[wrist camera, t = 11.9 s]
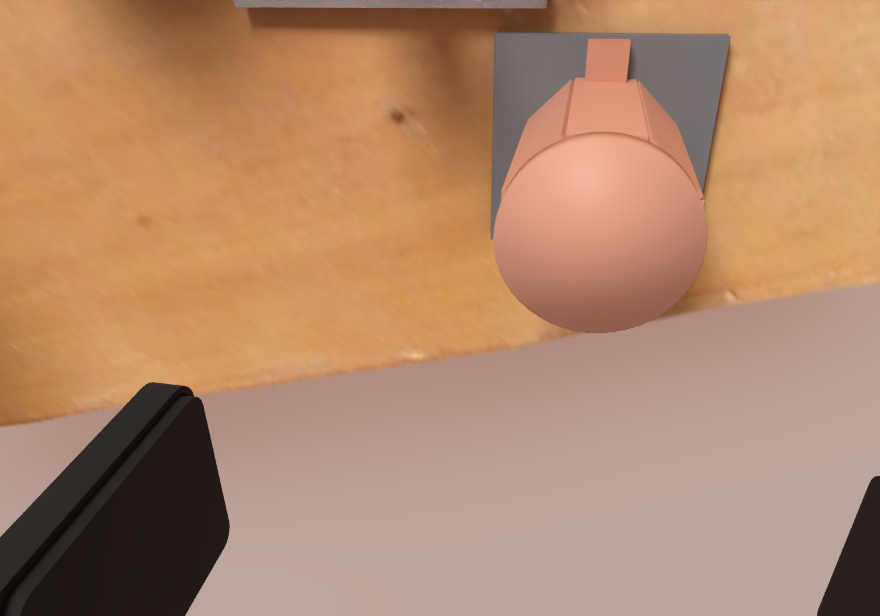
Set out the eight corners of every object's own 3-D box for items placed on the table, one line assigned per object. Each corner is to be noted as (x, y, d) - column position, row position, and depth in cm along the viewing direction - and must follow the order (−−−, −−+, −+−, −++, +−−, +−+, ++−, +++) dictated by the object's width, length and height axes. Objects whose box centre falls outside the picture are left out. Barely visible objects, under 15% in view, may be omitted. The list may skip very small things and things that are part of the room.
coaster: (492, 233, 33) (490, 239, 32) (497, 32, 28) (495, 33, 28) (690, 246, 31) (691, 252, 31) (727, 34, 27) (730, 36, 26)
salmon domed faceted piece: (527, 37, 28) (497, 87, 19) (694, 39, 26) (735, 93, 18) (518, 247, 32) (490, 358, 24) (660, 257, 31) (681, 376, 23)
